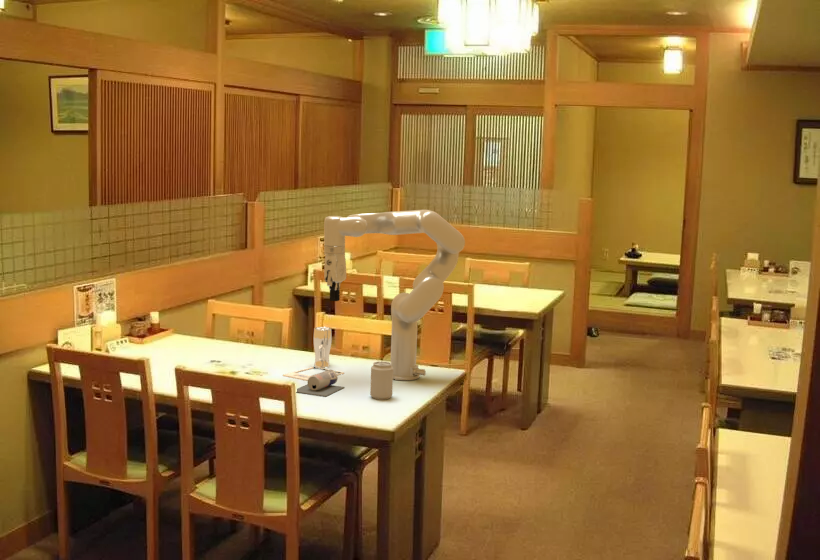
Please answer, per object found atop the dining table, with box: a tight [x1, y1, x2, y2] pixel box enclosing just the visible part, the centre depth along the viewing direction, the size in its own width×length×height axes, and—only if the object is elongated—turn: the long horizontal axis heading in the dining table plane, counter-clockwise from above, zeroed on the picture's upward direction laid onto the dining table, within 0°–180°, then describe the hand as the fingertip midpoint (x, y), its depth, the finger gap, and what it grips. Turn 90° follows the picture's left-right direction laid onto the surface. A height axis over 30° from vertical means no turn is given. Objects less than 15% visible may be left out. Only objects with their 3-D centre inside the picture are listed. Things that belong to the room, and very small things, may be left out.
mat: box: [296, 383, 345, 398], centre depth 317 cm, size 13×14×1 cm
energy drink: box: [307, 369, 338, 391], centre depth 318 cm, size 5×5×12 cm
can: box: [369, 360, 394, 401], centre depth 309 cm, size 8×8×12 cm
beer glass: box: [313, 326, 333, 369], centre depth 352 cm, size 7×7×15 cm
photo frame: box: [282, 366, 345, 382], centre depth 339 cm, size 15×1×18 cm
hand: (334, 300), depth 331 cm, fingers closed
